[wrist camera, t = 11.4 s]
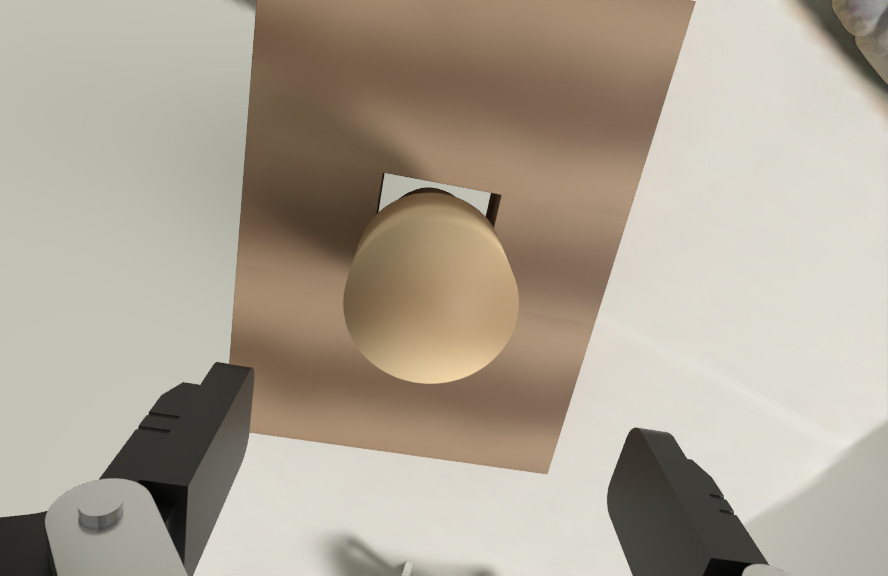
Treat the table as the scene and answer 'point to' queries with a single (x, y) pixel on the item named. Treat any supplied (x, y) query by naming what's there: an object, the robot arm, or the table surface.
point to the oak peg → (430, 289)
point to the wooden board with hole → (448, 162)
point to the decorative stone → (867, 29)
